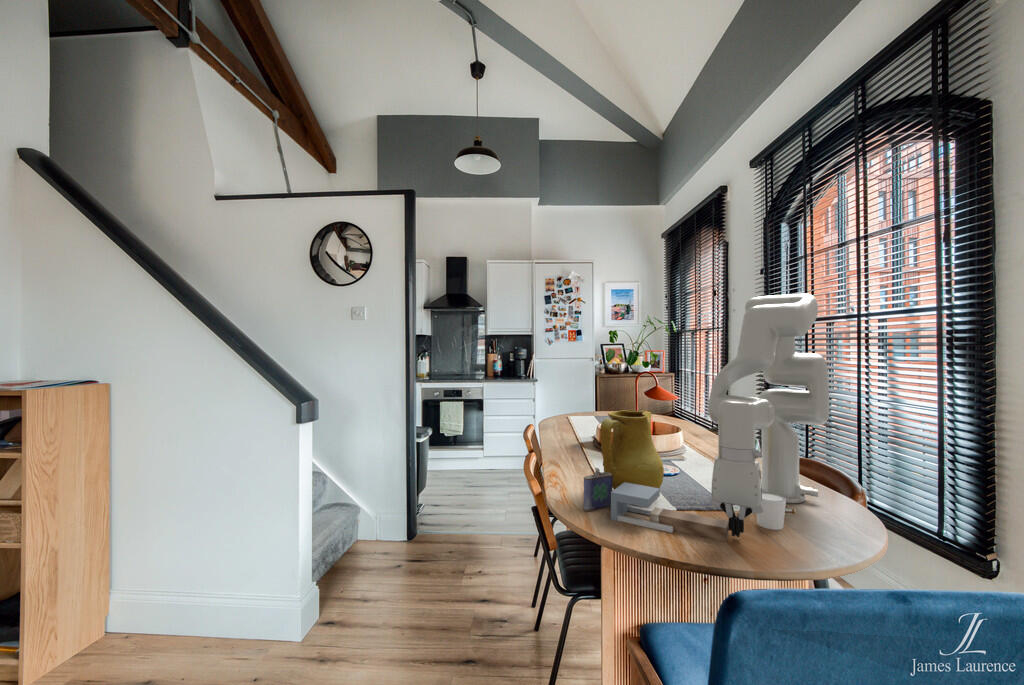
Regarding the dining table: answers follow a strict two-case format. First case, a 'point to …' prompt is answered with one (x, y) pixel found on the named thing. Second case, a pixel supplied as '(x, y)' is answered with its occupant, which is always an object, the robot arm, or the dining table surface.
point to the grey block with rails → (635, 496)
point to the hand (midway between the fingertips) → (736, 534)
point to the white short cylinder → (772, 511)
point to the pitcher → (630, 449)
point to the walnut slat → (692, 523)
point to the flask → (597, 491)
